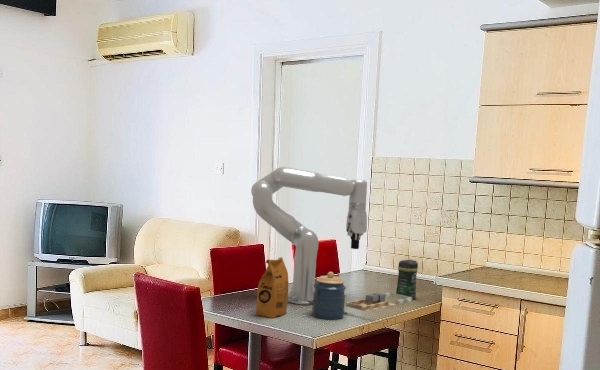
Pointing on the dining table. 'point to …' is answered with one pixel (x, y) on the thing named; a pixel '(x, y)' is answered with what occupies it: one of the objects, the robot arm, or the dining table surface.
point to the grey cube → (380, 297)
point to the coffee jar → (407, 278)
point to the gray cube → (371, 299)
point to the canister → (329, 297)
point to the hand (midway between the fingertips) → (354, 248)
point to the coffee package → (273, 290)
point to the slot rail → (362, 306)
